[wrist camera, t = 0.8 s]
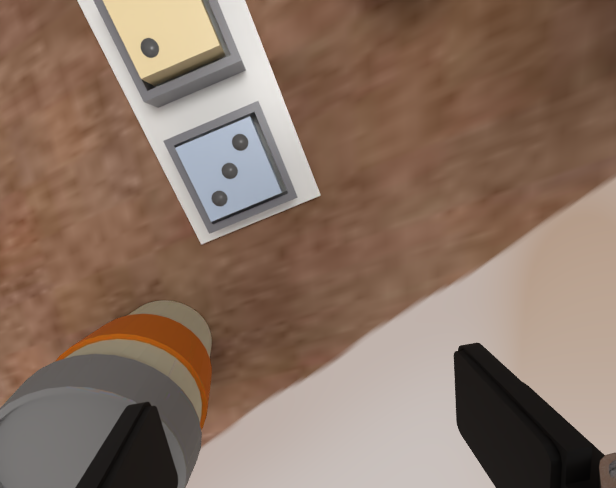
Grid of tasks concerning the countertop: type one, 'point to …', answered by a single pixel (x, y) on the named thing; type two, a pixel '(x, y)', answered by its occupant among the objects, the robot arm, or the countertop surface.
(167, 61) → the button
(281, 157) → the button panel
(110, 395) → the reusable coffee cup
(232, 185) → the button
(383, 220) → the countertop surface
